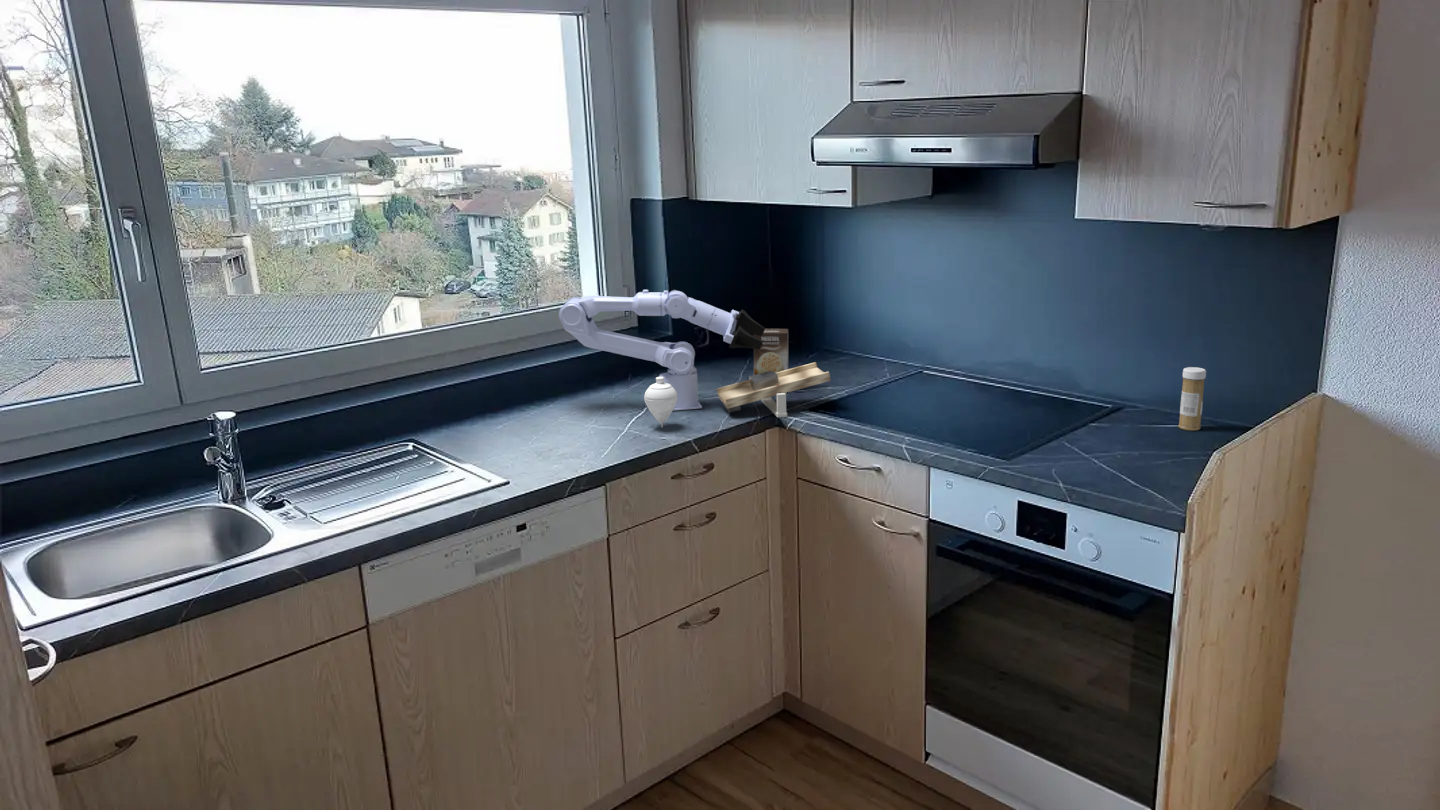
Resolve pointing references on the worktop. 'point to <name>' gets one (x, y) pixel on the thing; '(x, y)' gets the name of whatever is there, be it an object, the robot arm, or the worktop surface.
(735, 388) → the balance beam
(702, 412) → the worktop surface
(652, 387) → the spinning top
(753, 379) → the block
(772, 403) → the pivot stand
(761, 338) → the coffee box
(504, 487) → the worktop surface
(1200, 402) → the sprinkles bottle
